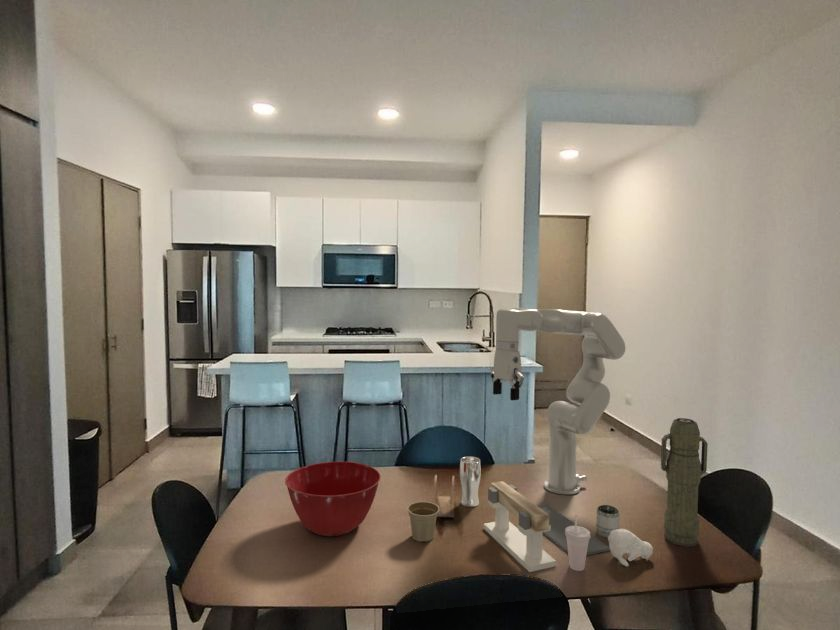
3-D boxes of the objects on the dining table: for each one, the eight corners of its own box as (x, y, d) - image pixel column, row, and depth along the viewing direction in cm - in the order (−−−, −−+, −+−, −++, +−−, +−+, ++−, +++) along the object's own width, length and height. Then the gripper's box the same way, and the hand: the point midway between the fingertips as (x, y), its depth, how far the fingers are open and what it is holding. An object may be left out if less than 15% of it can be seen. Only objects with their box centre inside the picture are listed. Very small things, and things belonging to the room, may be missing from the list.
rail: (502, 494, 156) (502, 481, 155) (548, 529, 133) (549, 514, 133) (490, 495, 154) (490, 482, 154) (535, 532, 132) (535, 517, 132)
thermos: (709, 547, 144) (714, 424, 142) (666, 545, 145) (670, 424, 143) (695, 532, 153) (699, 416, 151) (654, 530, 154) (658, 415, 151)
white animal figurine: (606, 524, 139) (646, 525, 141) (603, 555, 139) (643, 555, 141) (619, 535, 133) (661, 536, 135) (616, 567, 133) (657, 567, 135)
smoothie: (560, 560, 137) (561, 509, 136) (583, 559, 137) (585, 509, 136) (569, 574, 130) (570, 521, 129) (593, 573, 131) (595, 520, 130)
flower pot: (443, 532, 152) (443, 504, 152) (433, 547, 143) (433, 517, 143) (413, 527, 155) (413, 499, 155) (402, 542, 146) (402, 512, 146)
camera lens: (595, 536, 150) (596, 510, 150) (596, 527, 156) (597, 501, 155) (618, 540, 148) (619, 514, 147) (618, 530, 154) (619, 505, 153)
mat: (546, 506, 170) (546, 503, 170) (609, 550, 142) (610, 547, 142) (515, 511, 166) (515, 509, 166) (574, 558, 138) (574, 555, 138)
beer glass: (480, 499, 175) (480, 456, 175) (480, 508, 169) (481, 463, 168) (459, 498, 176) (460, 455, 175) (459, 507, 169) (459, 462, 168)
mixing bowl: (333, 498, 176) (333, 454, 175) (399, 521, 159) (399, 472, 158) (266, 530, 153) (265, 480, 152) (334, 560, 136) (334, 504, 135)
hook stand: (506, 524, 157) (507, 481, 157) (555, 566, 134) (556, 516, 133) (483, 528, 155) (484, 484, 154) (529, 572, 131) (530, 521, 130)
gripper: (532, 348, 165) (531, 401, 166) (500, 343, 180) (499, 391, 181) (513, 349, 161) (512, 403, 162) (483, 343, 177) (481, 392, 178)
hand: (505, 397), depth 172 cm, fingers open, 9 cm apart
